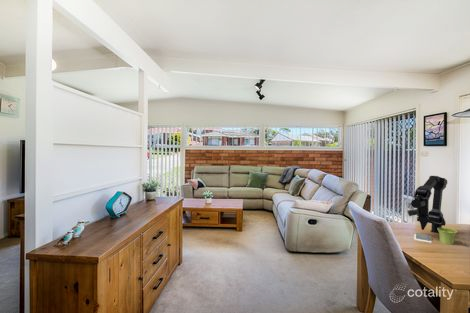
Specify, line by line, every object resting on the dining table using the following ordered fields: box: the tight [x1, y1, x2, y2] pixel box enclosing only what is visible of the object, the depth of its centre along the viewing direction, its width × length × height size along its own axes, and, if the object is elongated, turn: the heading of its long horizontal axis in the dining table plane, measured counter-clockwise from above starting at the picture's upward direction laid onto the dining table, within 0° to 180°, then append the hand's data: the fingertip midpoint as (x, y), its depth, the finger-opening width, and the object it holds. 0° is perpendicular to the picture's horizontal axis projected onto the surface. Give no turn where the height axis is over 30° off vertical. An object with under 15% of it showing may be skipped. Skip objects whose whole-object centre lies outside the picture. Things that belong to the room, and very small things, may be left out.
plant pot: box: [437, 227, 458, 246], centre depth 152 cm, size 9×9×9 cm
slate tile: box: [415, 232, 430, 241], centre depth 160 cm, size 2×7×8 cm
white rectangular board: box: [413, 233, 432, 244], centre depth 160 cm, size 14×9×1 cm, turn 142°
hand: (422, 229), depth 162 cm, fingers closed
